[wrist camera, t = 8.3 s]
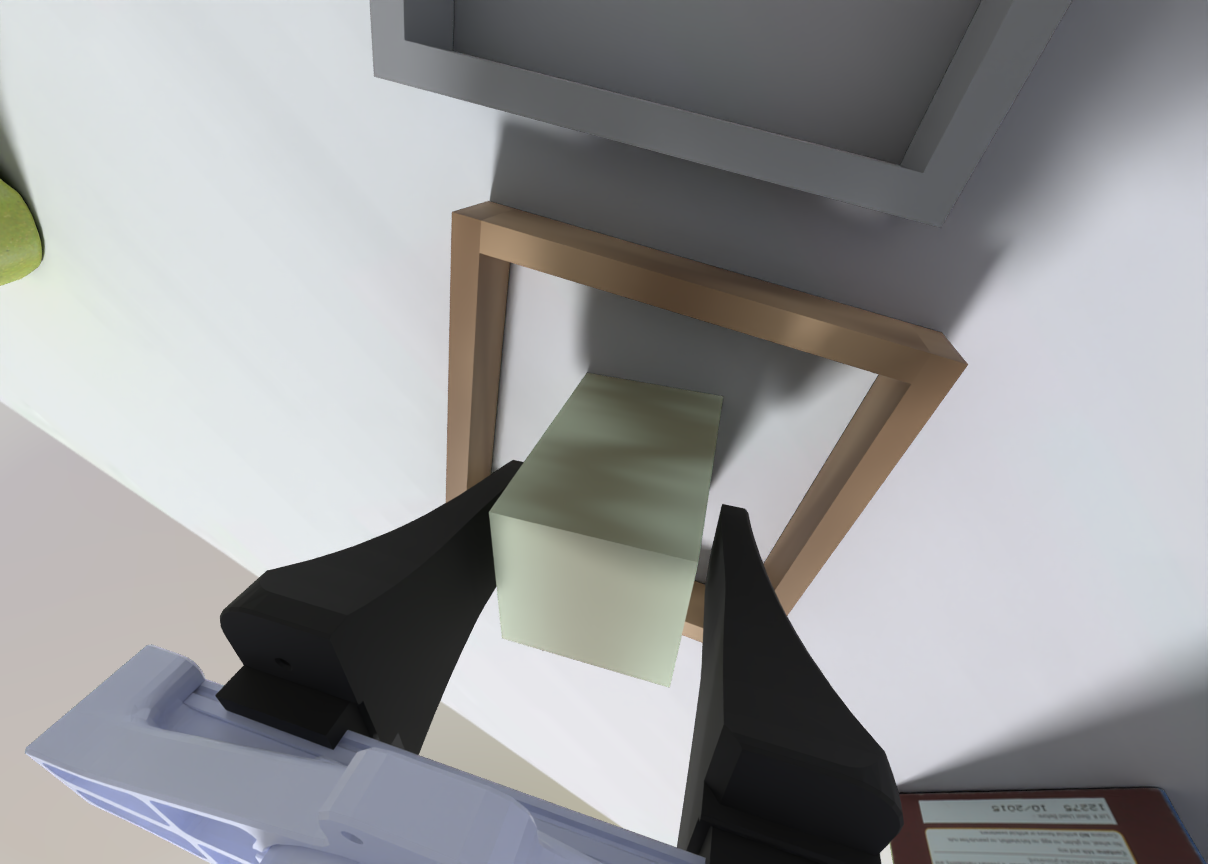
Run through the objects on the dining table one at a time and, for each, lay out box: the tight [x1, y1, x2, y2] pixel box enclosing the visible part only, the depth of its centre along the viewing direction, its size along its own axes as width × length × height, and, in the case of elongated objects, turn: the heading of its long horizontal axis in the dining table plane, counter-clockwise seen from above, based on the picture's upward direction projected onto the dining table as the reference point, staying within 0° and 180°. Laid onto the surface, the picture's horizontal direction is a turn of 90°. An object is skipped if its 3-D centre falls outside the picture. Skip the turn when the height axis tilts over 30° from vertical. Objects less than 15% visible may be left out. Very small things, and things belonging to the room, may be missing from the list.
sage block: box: [489, 373, 723, 688], centre depth 14 cm, size 4×4×7 cm
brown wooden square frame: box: [446, 201, 968, 643], centre depth 16 cm, size 13×13×2 cm
